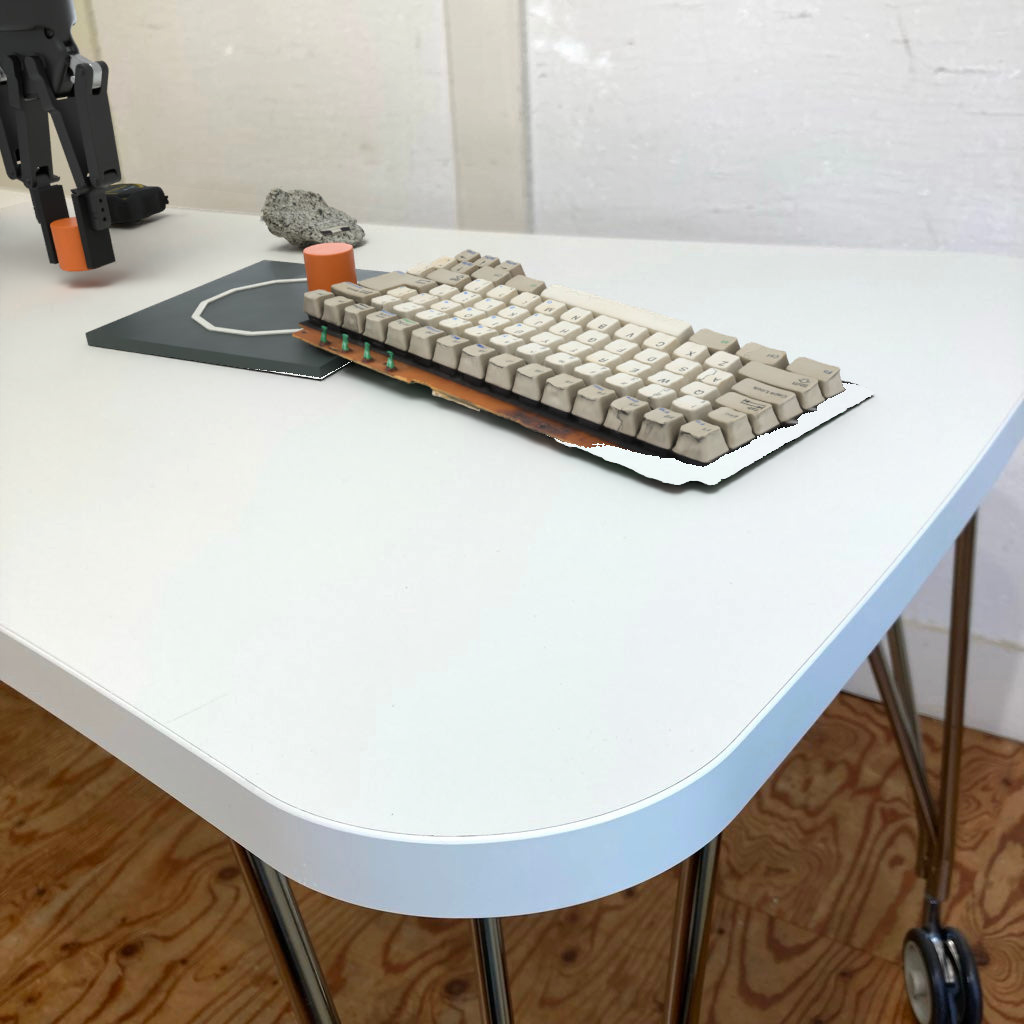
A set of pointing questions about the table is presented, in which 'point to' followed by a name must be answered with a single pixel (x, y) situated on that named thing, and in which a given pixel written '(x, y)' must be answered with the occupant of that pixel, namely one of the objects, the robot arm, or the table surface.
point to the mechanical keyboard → (565, 359)
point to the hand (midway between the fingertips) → (82, 261)
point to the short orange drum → (329, 265)
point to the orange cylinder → (68, 245)
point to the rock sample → (308, 219)
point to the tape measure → (134, 202)
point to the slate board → (231, 323)
